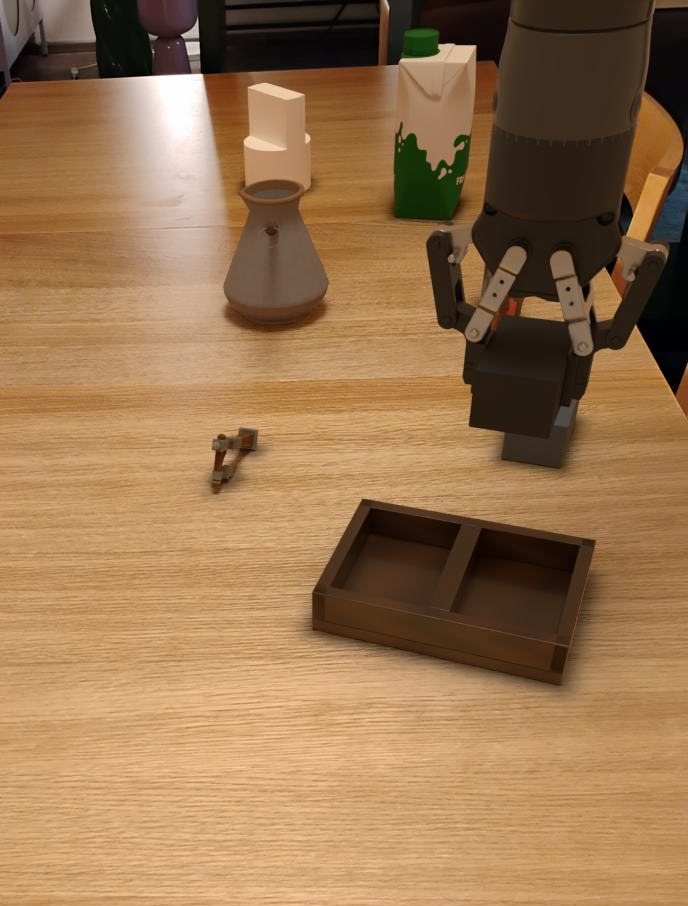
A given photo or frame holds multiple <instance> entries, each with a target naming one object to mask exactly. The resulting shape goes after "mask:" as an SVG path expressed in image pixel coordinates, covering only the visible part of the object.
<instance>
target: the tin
mask: <svg viewBox="0 0 688 906" xmlns="http://www.w3.org/2000/svg"><path fill="white" fill-rule="evenodd" d="M483 268H484V269H483V277H482V285H481V298H482V297H483V295H484V293H485V292H486V290H487V288H488V286H489V284H490V282H491V280H492V278H493V277H492V275H491V273H490V271H489V270H488V268H487V266H486V264H485V263H484V267H483ZM524 301H525V298H516V297H508V293H507V295H506V297H505V299H504V300H503V302H502V304H501V306H500V308H499V310H498V311H497V313H496V315H495V317H494V318H493V320H492V324H491V329H494V330H496V328H497V326H498V324H499V322H500V320H501V318H502V316H503V315H504V314H505V315H513V316H521V312H522V308H523V303H524ZM494 332H495V331H494Z"/></svg>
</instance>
